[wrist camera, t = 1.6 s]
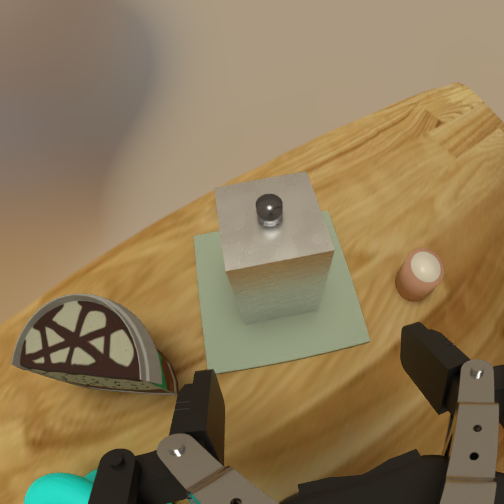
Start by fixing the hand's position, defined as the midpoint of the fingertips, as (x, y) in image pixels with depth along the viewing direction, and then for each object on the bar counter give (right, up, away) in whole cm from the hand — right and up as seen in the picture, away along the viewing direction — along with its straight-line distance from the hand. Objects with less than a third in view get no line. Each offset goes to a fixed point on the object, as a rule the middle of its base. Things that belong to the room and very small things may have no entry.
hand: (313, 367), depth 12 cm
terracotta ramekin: (+13, +2, +16) cm, 20 cm away
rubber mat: (0, +2, +17) cm, 17 cm away
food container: (-14, -5, +15) cm, 21 cm away
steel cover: (0, +2, +17) cm, 17 cm away
